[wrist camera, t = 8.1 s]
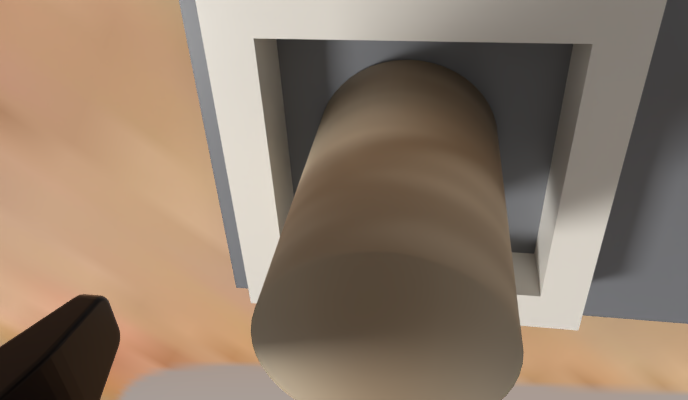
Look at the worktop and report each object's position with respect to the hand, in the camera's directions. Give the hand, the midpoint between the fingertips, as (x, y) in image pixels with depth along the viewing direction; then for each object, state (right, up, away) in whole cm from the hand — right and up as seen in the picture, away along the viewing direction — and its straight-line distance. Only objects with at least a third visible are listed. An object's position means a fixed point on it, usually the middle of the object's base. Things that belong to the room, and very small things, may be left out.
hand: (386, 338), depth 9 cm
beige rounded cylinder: (+1, +3, +5) cm, 6 cm away
